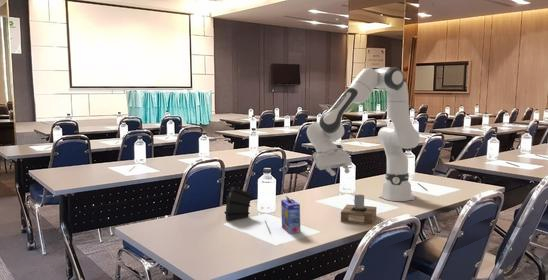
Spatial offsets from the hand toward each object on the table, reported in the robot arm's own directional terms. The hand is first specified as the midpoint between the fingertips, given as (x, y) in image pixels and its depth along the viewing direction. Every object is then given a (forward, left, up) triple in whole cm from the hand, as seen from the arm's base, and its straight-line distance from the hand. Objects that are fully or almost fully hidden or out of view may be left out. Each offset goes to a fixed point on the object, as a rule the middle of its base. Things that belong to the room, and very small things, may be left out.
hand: (341, 173), depth 216 cm
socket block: (+6, +10, -19) cm, 23 cm away
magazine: (+22, -43, -20) cm, 52 cm away
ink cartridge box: (+31, -15, -20) cm, 40 cm away
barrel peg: (+6, +10, -19) cm, 23 cm away
